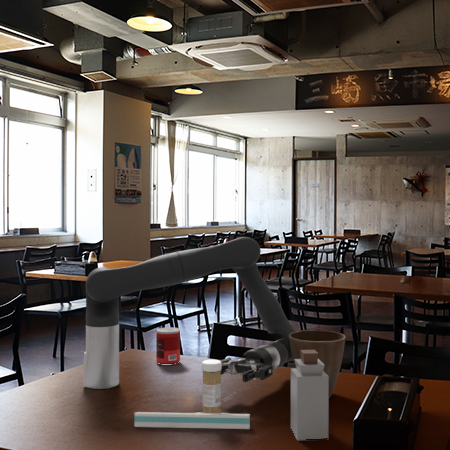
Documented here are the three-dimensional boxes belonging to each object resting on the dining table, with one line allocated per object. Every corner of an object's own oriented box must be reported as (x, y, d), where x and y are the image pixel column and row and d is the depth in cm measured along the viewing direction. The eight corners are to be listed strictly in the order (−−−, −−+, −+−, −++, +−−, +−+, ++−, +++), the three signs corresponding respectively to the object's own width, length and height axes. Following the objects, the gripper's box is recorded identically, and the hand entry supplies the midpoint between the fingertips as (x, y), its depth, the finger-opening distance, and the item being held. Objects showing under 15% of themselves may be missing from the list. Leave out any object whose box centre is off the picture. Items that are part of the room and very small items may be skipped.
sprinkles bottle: (213, 413, 130) (213, 357, 130) (225, 418, 126) (225, 361, 126) (197, 417, 127) (198, 360, 127) (209, 423, 123) (209, 364, 123)
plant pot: (300, 406, 136) (300, 342, 136) (281, 388, 150) (281, 331, 150) (355, 402, 139) (355, 340, 139) (331, 385, 153) (331, 328, 153)
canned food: (183, 360, 180) (183, 328, 180) (173, 366, 173) (173, 332, 173) (162, 359, 183) (163, 326, 183) (152, 364, 175) (152, 331, 175)
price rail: (134, 426, 121) (134, 413, 121) (142, 412, 131) (143, 399, 131) (249, 429, 120) (249, 415, 120) (249, 413, 130) (249, 401, 130)
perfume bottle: (290, 428, 121) (290, 348, 121) (320, 427, 121) (320, 347, 121) (297, 440, 114) (297, 355, 114) (328, 439, 115) (328, 355, 115)
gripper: (238, 344, 150) (205, 356, 136) (284, 350, 142) (253, 364, 129) (238, 370, 150) (205, 385, 136) (284, 378, 142) (254, 395, 129)
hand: (228, 375), depth 133 cm, fingers open, 8 cm apart
